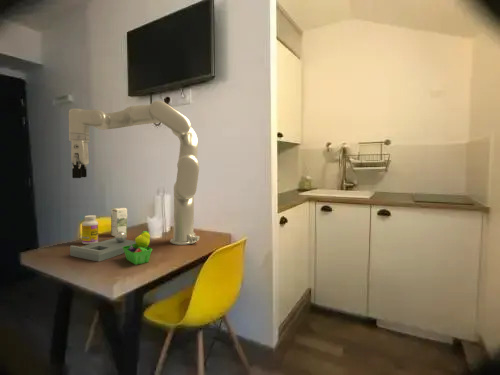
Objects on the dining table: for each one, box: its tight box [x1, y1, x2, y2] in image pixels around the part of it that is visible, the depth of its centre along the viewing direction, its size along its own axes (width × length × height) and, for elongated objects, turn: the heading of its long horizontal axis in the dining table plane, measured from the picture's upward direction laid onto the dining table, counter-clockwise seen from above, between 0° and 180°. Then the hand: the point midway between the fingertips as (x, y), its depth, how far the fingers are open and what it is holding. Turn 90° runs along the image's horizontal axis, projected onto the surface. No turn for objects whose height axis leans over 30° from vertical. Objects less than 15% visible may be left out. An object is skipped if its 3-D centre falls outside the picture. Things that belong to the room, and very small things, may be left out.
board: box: [69, 237, 136, 262], centre depth 122 cm, size 16×22×4 cm
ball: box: [114, 231, 127, 242], centre depth 128 cm, size 5×5×5 cm
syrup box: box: [110, 207, 128, 237], centre depth 149 cm, size 6×6×14 cm
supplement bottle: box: [81, 214, 99, 245], centre depth 134 cm, size 7×7×13 cm
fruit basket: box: [123, 230, 153, 266], centre depth 111 cm, size 11×9×11 cm
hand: (79, 177), depth 125 cm, fingers open, 9 cm apart
